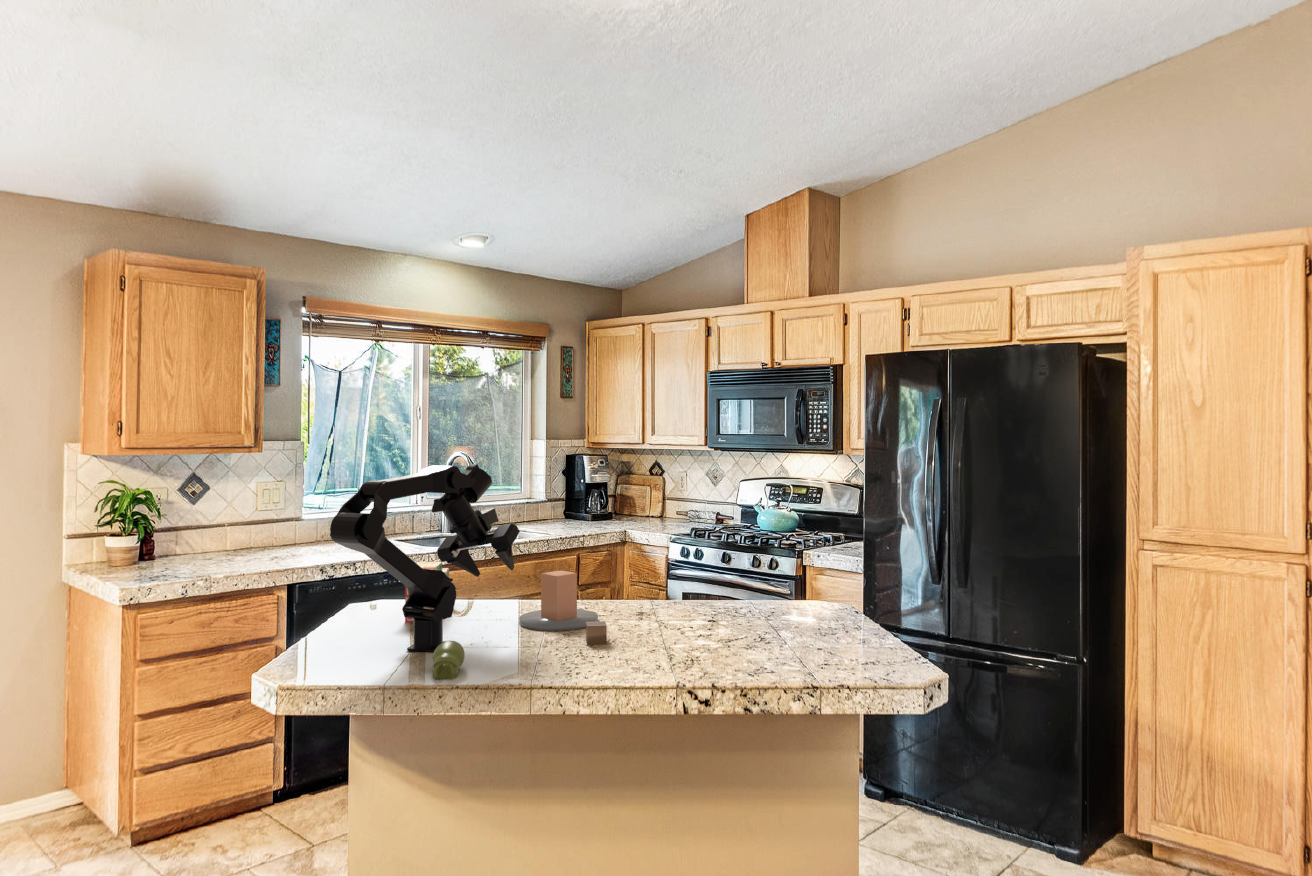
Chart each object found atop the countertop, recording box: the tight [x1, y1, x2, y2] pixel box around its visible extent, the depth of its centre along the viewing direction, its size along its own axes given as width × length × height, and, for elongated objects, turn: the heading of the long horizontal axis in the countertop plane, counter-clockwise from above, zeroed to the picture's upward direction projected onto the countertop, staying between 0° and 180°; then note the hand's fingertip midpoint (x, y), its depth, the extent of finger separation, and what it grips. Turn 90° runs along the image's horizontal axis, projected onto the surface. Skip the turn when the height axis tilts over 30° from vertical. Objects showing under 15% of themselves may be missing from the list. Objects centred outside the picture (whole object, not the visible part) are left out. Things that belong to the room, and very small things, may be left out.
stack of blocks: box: [404, 561, 450, 623], centre depth 204 cm, size 21×6×12 cm, turn 3°
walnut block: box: [585, 620, 608, 646], centre depth 174 cm, size 4×4×4 cm
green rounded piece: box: [431, 640, 466, 680], centre depth 152 cm, size 6×5×10 cm
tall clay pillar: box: [540, 569, 578, 620], centre depth 193 cm, size 6×6×10 cm
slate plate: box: [518, 608, 599, 632], centre depth 193 cm, size 18×18×1 cm
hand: (495, 572), depth 185 cm, fingers open, 9 cm apart
